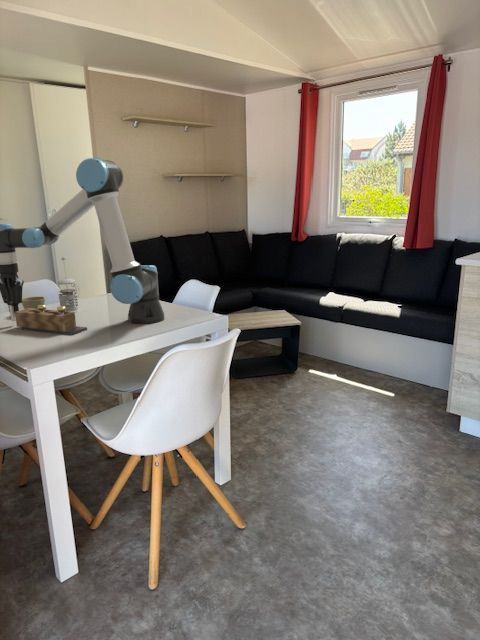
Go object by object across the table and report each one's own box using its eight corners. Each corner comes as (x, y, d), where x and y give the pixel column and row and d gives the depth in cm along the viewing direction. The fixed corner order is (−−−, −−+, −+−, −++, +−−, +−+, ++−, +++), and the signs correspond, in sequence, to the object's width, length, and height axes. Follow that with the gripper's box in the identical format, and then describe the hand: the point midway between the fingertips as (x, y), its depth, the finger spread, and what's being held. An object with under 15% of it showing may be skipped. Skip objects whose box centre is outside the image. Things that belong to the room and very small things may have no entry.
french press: (53, 312, 214) (46, 258, 208) (71, 307, 224) (65, 255, 218) (70, 314, 210) (64, 258, 204) (88, 308, 220) (82, 255, 214)
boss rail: (87, 329, 183) (84, 306, 181) (73, 335, 176) (70, 310, 174) (37, 324, 193) (34, 302, 191) (21, 329, 186) (18, 306, 184)
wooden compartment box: (76, 326, 184) (74, 311, 183) (63, 331, 178) (61, 316, 177) (30, 322, 193) (28, 308, 192) (16, 326, 187) (14, 311, 186)
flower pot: (38, 316, 207) (35, 301, 205) (18, 316, 209) (15, 300, 207) (51, 311, 216) (49, 296, 215) (32, 311, 218) (30, 296, 217)
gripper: (26, 262, 187) (34, 319, 193) (2, 261, 192) (11, 317, 197) (11, 264, 180) (20, 323, 186) (-13, 263, 185) (-4, 321, 191)
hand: (15, 320), depth 192 cm, fingers closed
